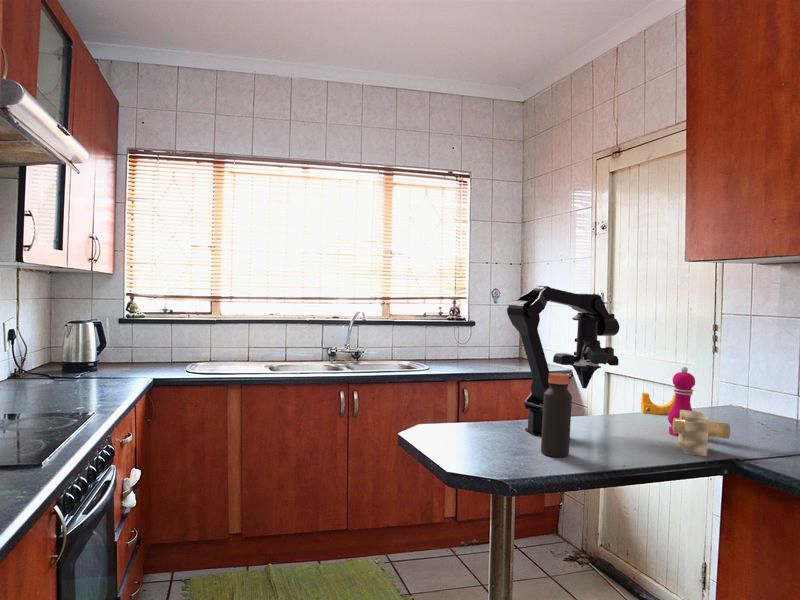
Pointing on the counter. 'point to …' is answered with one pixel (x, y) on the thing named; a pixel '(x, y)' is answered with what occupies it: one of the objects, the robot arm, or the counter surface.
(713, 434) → the tan wooden bar
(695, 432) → the beige lumpy block
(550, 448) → the bottle
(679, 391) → the pepper mill
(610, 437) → the counter surface
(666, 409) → the pipe clamp
